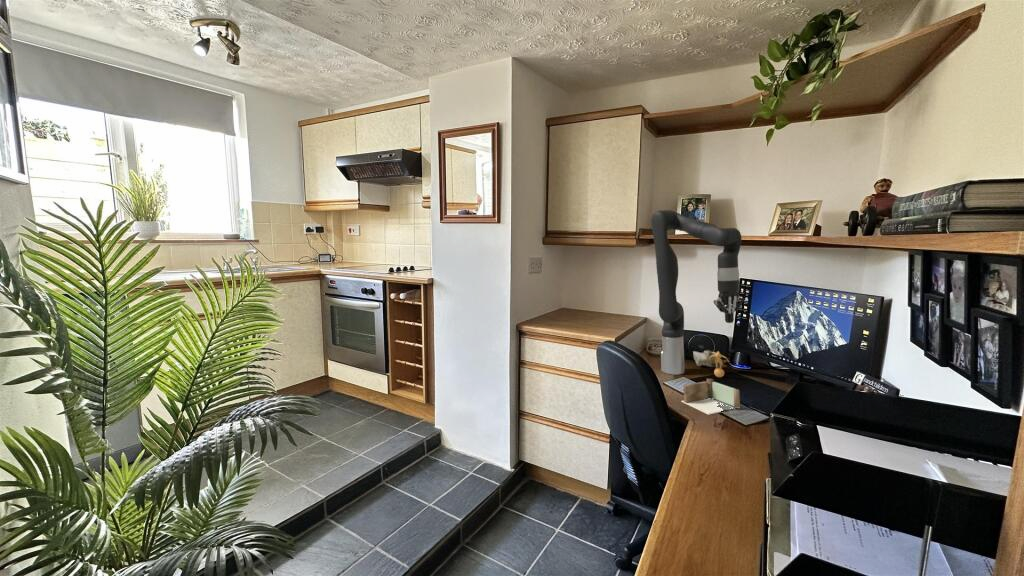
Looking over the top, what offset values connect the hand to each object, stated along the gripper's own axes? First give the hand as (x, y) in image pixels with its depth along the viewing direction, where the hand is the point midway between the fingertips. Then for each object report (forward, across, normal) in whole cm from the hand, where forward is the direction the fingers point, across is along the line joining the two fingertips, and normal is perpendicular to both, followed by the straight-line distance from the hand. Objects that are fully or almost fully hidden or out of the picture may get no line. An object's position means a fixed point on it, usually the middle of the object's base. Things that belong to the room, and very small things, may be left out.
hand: (729, 322), depth 155 cm
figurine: (+27, +6, +13) cm, 31 cm away
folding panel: (+26, -14, -12) cm, 32 cm away
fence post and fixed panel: (+27, -19, -5) cm, 34 cm away
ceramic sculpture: (+27, +14, +28) cm, 42 cm away
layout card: (+27, -19, -10) cm, 34 cm away
